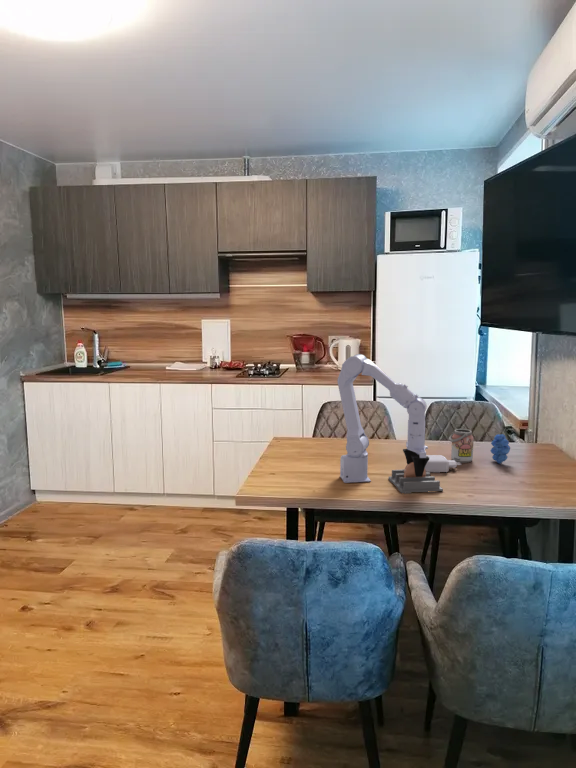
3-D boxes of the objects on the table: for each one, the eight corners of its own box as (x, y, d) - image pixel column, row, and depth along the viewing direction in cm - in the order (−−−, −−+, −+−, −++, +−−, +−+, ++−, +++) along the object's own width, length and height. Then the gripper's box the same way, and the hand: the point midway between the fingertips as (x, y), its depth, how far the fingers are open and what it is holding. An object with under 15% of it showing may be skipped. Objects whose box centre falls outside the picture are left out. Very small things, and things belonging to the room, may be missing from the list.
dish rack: (401, 493, 180) (402, 483, 180) (388, 479, 195) (388, 469, 194) (442, 491, 182) (443, 481, 181) (426, 477, 196) (427, 468, 196)
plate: (405, 483, 187) (406, 463, 186) (403, 481, 189) (404, 462, 188) (425, 483, 187) (426, 463, 186) (423, 481, 189) (424, 461, 188)
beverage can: (452, 463, 213) (453, 433, 212) (445, 457, 222) (446, 428, 220) (475, 463, 214) (477, 433, 212) (468, 457, 222) (469, 428, 220)
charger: (463, 473, 201) (422, 473, 202) (457, 466, 211) (417, 466, 211) (464, 461, 201) (422, 460, 202) (457, 454, 210) (418, 454, 211)
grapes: (517, 467, 208) (519, 436, 206) (500, 468, 207) (502, 437, 205) (502, 459, 219) (503, 429, 218) (486, 459, 219) (487, 430, 217)
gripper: (435, 438, 179) (434, 479, 181) (420, 428, 193) (419, 466, 195) (414, 439, 178) (413, 479, 180) (400, 429, 192) (399, 466, 194)
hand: (415, 472), depth 188 cm, fingers open, 7 cm apart
